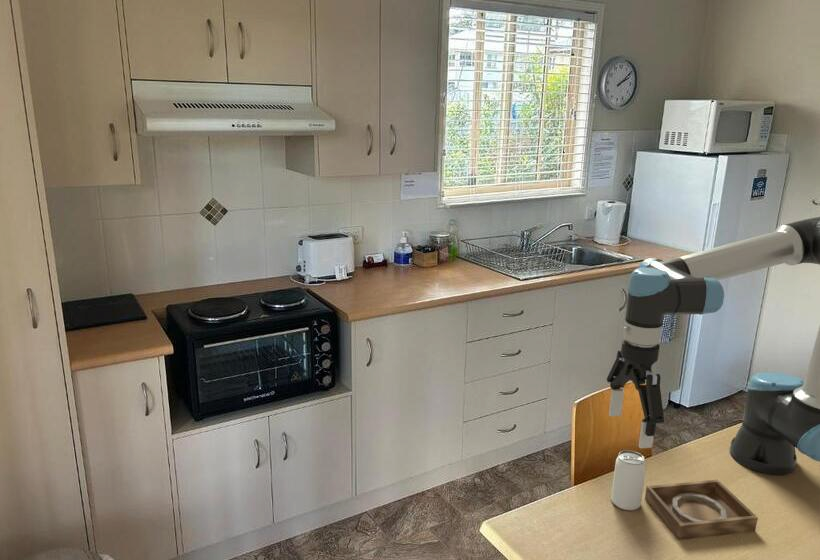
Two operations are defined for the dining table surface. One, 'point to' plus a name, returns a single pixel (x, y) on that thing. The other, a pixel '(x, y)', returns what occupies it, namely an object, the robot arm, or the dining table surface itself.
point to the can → (628, 480)
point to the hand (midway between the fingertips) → (629, 430)
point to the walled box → (700, 509)
